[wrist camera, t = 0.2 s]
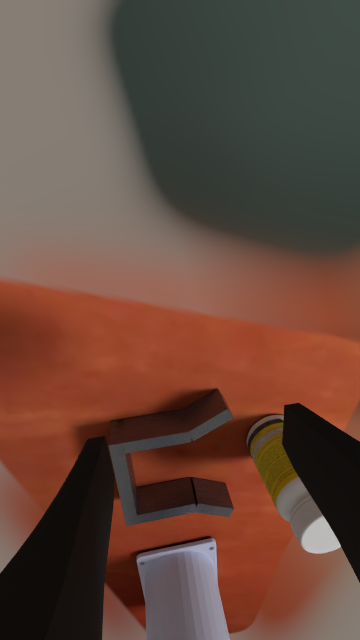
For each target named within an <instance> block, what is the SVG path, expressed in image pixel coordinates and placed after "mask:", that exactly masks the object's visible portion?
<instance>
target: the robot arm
mask: <svg viewBox="0 0 360 640" xmlns="http://www.w3.org/2000/svg"><path fill="white" fill-rule="evenodd" d="M282 445H283V447H284V450H285V452H286V454H287V456H288V458H289V460H290V462H291V464H292V466H293V468H294V470H295V472H296V473H297V475H298V477H299V478H300V480H301V481H302V483H303V485H304V486H305V488H306V489H307V491H308V492H309V494H310V496H311V497H312V499H313V500H314V502H315V504H316V505H317V507H318V508H319V510H320V511H321V513H322V515H323V516H324V518H325V519H326V521H327V523H328V524H329V526H330V527H331V529H332V531H333V533H334V534H335V536H336V538H337V539H338V541H339V543H340V545H341V547H342V549H343V551H344V553H345V555H346V557H347V558H348V561H349V562H350V564H351V566H352V568H353V570H354V572H355V574H356V576H357V578H358V580H359V582H360V442H359V441H358V440H356V439H354V438H353V437H351V436H349V435H348V434H346V433H345V432H343V431H342V430H340V429H338V428H337V427H335V426H334V425H332V424H331V423H329V422H328V421H326V420H325V419H323V418H321V417H320V416H318V415H317V414H315V413H314V412H312V411H311V410H309V409H308V408H306V407H305V406H303V405H301V404H300V403H295V404H289V405H284V420H283V434H282ZM113 502H114V474H113V469H112V465H111V461H110V456H109V452H108V448H107V443H106V439H105V436H102V437H97V438H91V439H88V440H87V441H86V443H85V445H84V447H83V449H82V451H81V453H80V455H79V457H78V459H77V461H76V462H75V464H74V466H73V468H72V470H71V472H70V473H69V475H68V477H67V478H66V480H65V482H64V484H63V485H62V487H61V489H60V490H59V492H58V494H57V495H56V497H55V498H54V500H53V502H52V503H51V505H50V506H49V508H48V509H47V511H46V512H45V514H44V515H43V517H42V518H41V520H40V522H39V523H38V524H37V526H36V527H35V529H34V530H33V532H32V533H31V534H30V536H29V537H28V538H27V540H26V541H25V542H24V544H23V545H22V546H21V548H20V549H19V551H18V552H17V553H16V554H15V556H14V557H13V558H12V559H11V561H10V562H9V563H8V564H7V566H6V567H5V568H4V570H3V571H2V572H1V573H0V640H102V623H103V597H104V583H105V572H106V564H107V555H108V547H109V538H110V530H111V521H112V513H113ZM136 561H137V566H138V571H139V575H140V580H141V585H142V589H143V594H144V599H145V604H146V635H147V640H230V639H229V634H228V629H227V625H226V620H225V616H224V611H223V607H222V602H221V598H220V594H219V589H218V580H217V556H216V542H215V539H213V538H209V539H205V540H200V541H195V542H191V543H186V544H181V545H177V546H172V547H167V548H163V549H158V550H153V551H149V552H144V553H140V554H138V555H137V557H136Z"/></svg>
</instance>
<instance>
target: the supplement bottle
mask: <svg viewBox="0 0 360 640" xmlns="http://www.w3.org/2000/svg"><path fill="white" fill-rule="evenodd" d="M283 420H284V415H271V416H268V417H265V418H263V419H261V420H259V421H258V422H257V423H255V424H254V425H253V426H252V428H251V429H250V431H249V433H248V436H247V447H248V450H249V452H250V454H251V456H252V458H253V460H254V463H255V465H256V467H257V469H258V471H259V473H260V475H261V477H262V479H263V481H264V483H265V485H266V488H267V490H268V492H269V494H270V496H271V498H272V500H273V502H274V504H275V507H276V508H277V510H278V512H279V514H280V515H281V516H282V517H283V518H284V519H285V520H286V521H288V522H290V525H291V527H292V530H293V532H294V533H295V535H296V537H297V539H298V540H299V542H300V544H301V546H302V547H303V548H304V549H305V550H306V551H308V552H311V553H316V554H319V553H326V552H330V551H333V550H336V549H338V548H339V547H341V545H340V543H339V541H338V539H337V538H336V536H335V534H334V533H333V531H332V529H331V527H330V526H329V524H328V523H327V521H326V519H325V518H324V516H323V515H322V513H321V511H320V510H319V508H318V507H317V505H316V504H315V502H314V500H313V499H312V497H311V496H310V494H309V492H308V491H307V489H306V488H305V486H304V485H303V483H302V481H301V480H300V478H299V477H298V475H297V473H296V472H295V470H294V468H293V466H292V464H291V462H290V460H289V458H288V456H287V454H286V452H285V450H284V447H283V445H282V434H283Z"/></svg>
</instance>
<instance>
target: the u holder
mask: <svg viewBox="0 0 360 640" xmlns="http://www.w3.org/2000/svg"><path fill="white" fill-rule="evenodd" d="M231 419H233V416H232V414H231V412H230V410H229V407H228V405H227V403H226V401H225V399H224V397H223V395H222V394H221V392H220V391H219V390H218V389H217V390H215V391H213V392H212V393H210V394H208V395H206V396H205V397H203V398H201V399H200V400H198V401H196V402H195V403H193V404H191V405H190V406H188V407H186V408H184V409H182V410H176V411H170V412H164V413H158V414H151V415H145V416H139V417H133V418H126V419H120V420H114V421H111V425H110V435H109V445H108V446H109V450H110V455H111V459H112V464H113V469H114V473H115V478H116V482H117V487H118V491H119V496H120V501H121V505H122V510H123V514H124V519H125V523H126V526H129V525H134V524H139V523H144V522H149V521H154V520H159V519H164V518H169V517H174V516H179V515H184V514H188V513H193V512H197V513H204V514H212V515H219V516H226V517H229V516H230V514H231V513H232V511H233V509H234V508H233V505H232V502H231V499H230V496H229V493H228V490H227V487H226V484H225V483H222V482H217V481H211V480H205V479H199V478H194V477H192V479H190V477H189V478H184V479H179V480H173V481H168V482H163V483H158V484H152V485H147V486H142V487H136V482H135V477H134V471H133V466H132V460H131V455H130V453H132V452H138V451H144V450H149V449H155V448H161V447H167V446H172V445H178V444H184V443H190V442H191V439H192V440H193V441H195V440H197V439H199V438H200V437H202V436H204V435H205V434H207V433H209V432H211V431H212V430H214V429H216V428H217V427H219V426H221V425H223V424H224V423H226V422H228V421H230V420H231Z"/></svg>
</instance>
